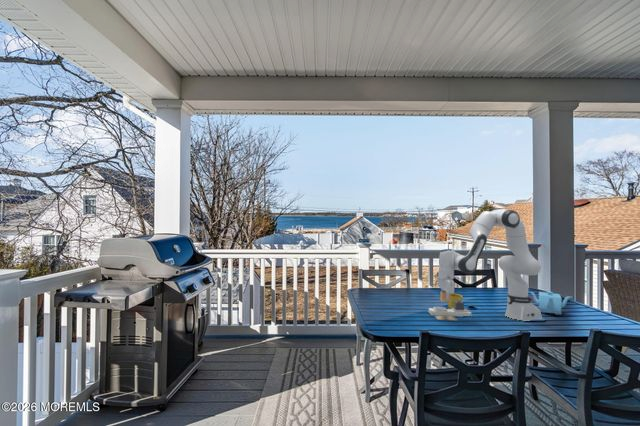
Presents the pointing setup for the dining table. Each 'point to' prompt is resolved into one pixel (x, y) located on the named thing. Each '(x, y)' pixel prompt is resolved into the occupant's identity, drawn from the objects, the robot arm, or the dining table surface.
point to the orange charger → (442, 296)
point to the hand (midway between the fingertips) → (445, 297)
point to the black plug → (459, 305)
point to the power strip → (448, 312)
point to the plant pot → (454, 300)
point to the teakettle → (550, 302)
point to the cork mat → (445, 318)
